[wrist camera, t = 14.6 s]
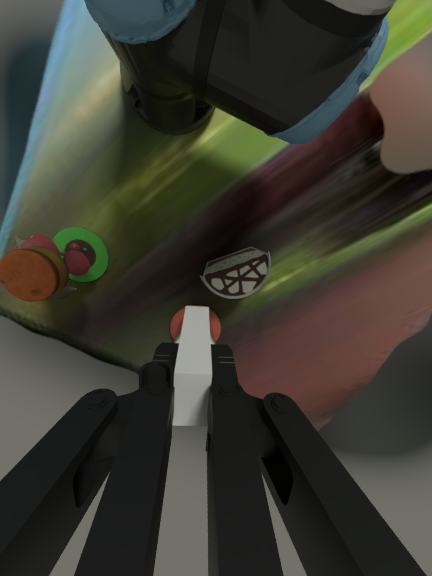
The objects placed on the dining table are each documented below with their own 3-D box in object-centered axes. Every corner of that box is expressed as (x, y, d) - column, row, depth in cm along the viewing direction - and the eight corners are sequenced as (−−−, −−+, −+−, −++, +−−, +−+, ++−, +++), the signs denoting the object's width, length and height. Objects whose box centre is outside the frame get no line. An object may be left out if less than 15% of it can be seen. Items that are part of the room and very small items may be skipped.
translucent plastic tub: (76, 206, 43) (14, 206, 29) (124, 261, 47) (89, 286, 32) (31, 244, 45) (-50, 261, 30) (80, 294, 48) (29, 331, 34)
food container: (210, 291, 50) (212, 311, 40) (200, 264, 47) (199, 279, 38) (266, 272, 49) (281, 288, 39) (258, 243, 47) (272, 253, 37)
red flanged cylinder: (171, 303, 50) (166, 318, 43) (222, 306, 51) (225, 321, 44) (170, 347, 53) (165, 367, 47) (218, 349, 54) (220, 369, 48)
